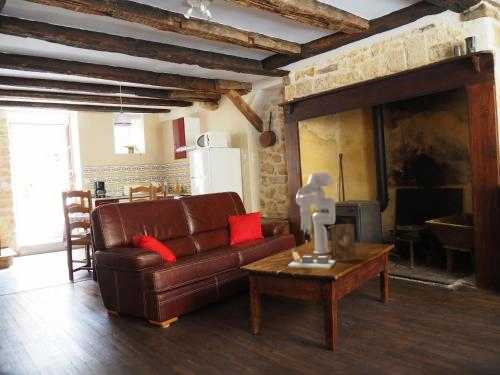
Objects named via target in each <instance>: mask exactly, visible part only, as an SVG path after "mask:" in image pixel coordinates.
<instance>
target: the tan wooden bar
mask: <svg viewBox="0 0 500 375" xmlns="http://www.w3.org/2000/svg"><path fill="white" fill-rule="evenodd" d="M291 257H292V258H293V257H294V259H295V261H296V263H300V262H301V259H302V258H301V256H300V255H299V252H298V249H297V248H296V249H295V248H293V249H291ZM294 259H293V260H294Z"/></svg>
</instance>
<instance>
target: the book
mask: <svg viewBox="0 0 500 375" xmlns="http://www.w3.org/2000/svg"><path fill="white" fill-rule="evenodd" d="M330 247H331V250H330V251H331V260H335V263H338V262H347V261H356V259H357V253H356V252H357V251H356V233H355V223H344V224H343V223H342V224H341V223H340V224H330Z"/></svg>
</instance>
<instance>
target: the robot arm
mask: <svg viewBox="0 0 500 375" xmlns="http://www.w3.org/2000/svg"><path fill="white" fill-rule="evenodd" d="M332 182H333V178H332V176H331V175H330V174H329V173H327V172H314V173H313V172H312V173H310V174H309V176H308V179H307V182H306V184H305V185H304V186H302V187H301V188H299V189H298V190H297V192H296V196H295V203H296V204H297V205H298V206H299V210H300V211H299V214H300V230H301V231H303V233H304V234H303V235H304V241H309V240H310V239H311V236H310V230H311V229H312V223H313V231H314V232H313V233H314V234H313V235H314V250H313V254H317V255H325V254H329V253H330V251H331V250H329V249H328V234H327V232H328V230H327V228H326V226H325V225H335V223H336V202H335V199H334V198H332V197H326V191H325V189H324V188H323V187H330V186H331V185H332ZM312 205H314V209H315V211H316V212H314V213H313V214H312ZM311 217H312V218H311Z"/></svg>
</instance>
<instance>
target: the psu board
mask: <svg viewBox="0 0 500 375" xmlns="http://www.w3.org/2000/svg"><path fill="white" fill-rule="evenodd" d="M292 258H293V261H291V262H289V264H288V268H301V269H302V268H305V269H306V268H307V269H327V270H328V269H331V268H332V267H333V266H334V264H335V263H336V261H335V260H332V259H329V256H327V255H318V256H316V259H314V255H303V256H300V258H301V262H300V263H296V261H295V259H294V257H292Z"/></svg>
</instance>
